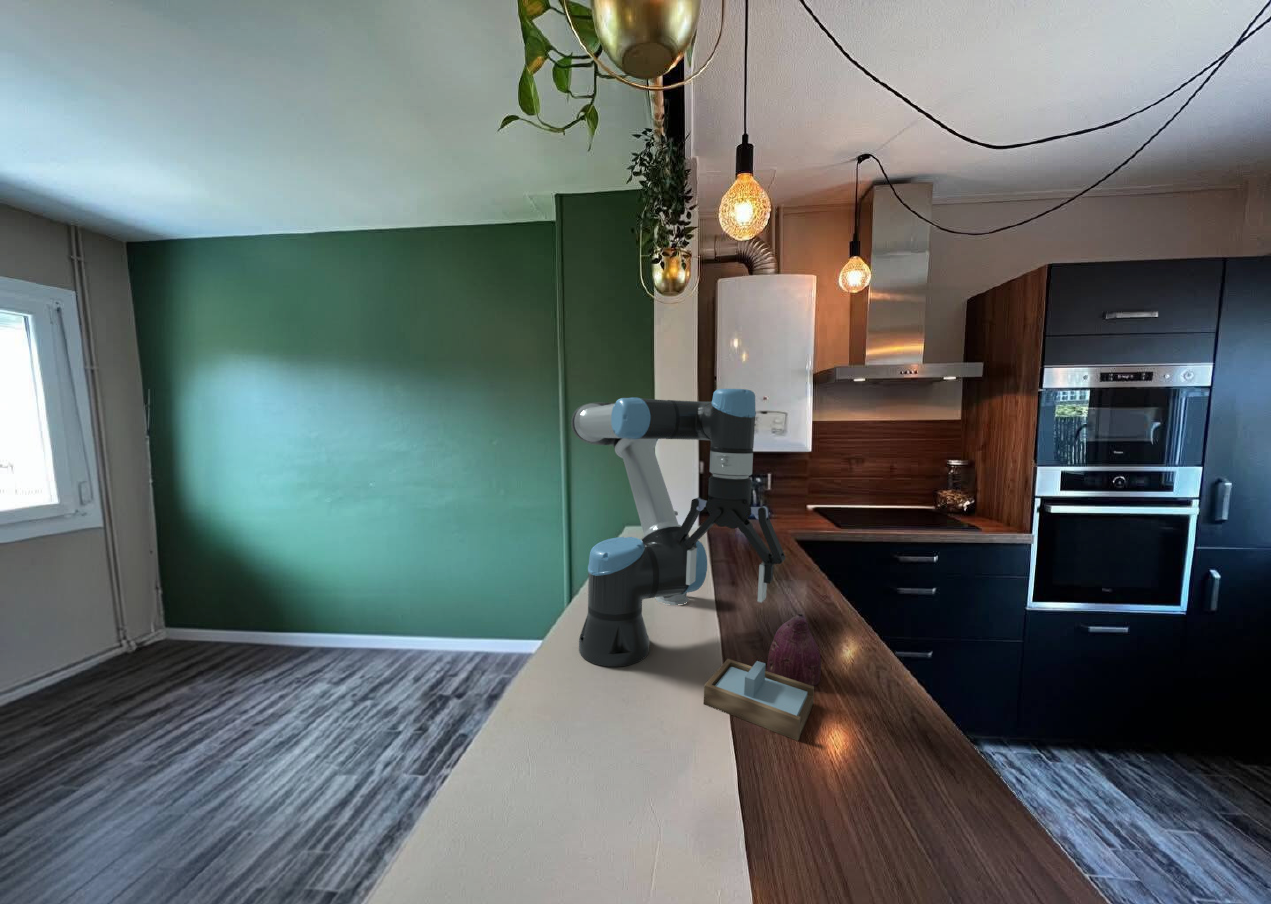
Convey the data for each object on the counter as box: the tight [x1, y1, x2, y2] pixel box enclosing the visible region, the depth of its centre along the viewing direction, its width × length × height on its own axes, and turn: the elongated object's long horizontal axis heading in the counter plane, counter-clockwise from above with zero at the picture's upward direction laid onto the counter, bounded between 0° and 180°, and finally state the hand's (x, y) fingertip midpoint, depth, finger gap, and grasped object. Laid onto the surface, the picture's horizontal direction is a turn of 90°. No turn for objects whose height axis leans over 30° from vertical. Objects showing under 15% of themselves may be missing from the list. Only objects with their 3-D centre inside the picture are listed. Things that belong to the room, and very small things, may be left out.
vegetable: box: [766, 612, 822, 687], centre depth 87 cm, size 10×10×15 cm
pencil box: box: [703, 658, 815, 742], centre depth 79 cm, size 16×11×3 cm
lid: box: [715, 660, 808, 716], centre depth 78 cm, size 14×8×4 cm, turn 57°
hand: (724, 591), depth 82 cm, fingers open, 13 cm apart
